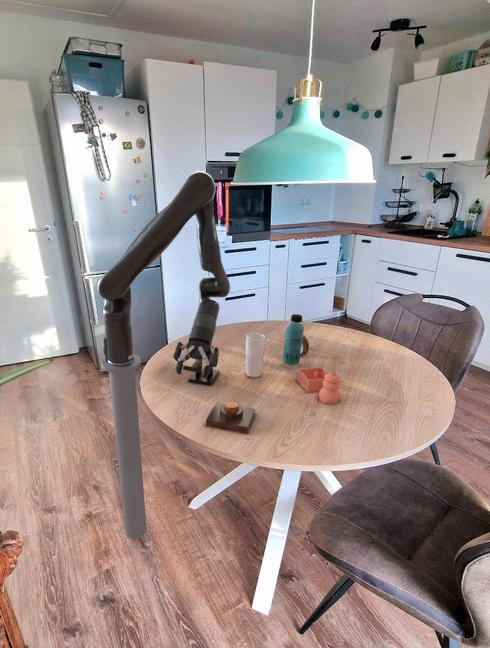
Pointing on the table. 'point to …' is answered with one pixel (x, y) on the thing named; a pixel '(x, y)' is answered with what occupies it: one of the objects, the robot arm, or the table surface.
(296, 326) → the beverage bottle
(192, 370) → the lever
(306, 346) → the brown curved piece
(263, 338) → the drinking glass
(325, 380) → the pottery
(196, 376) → the lever stand
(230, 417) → the button block
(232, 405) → the button
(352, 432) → the table surface
